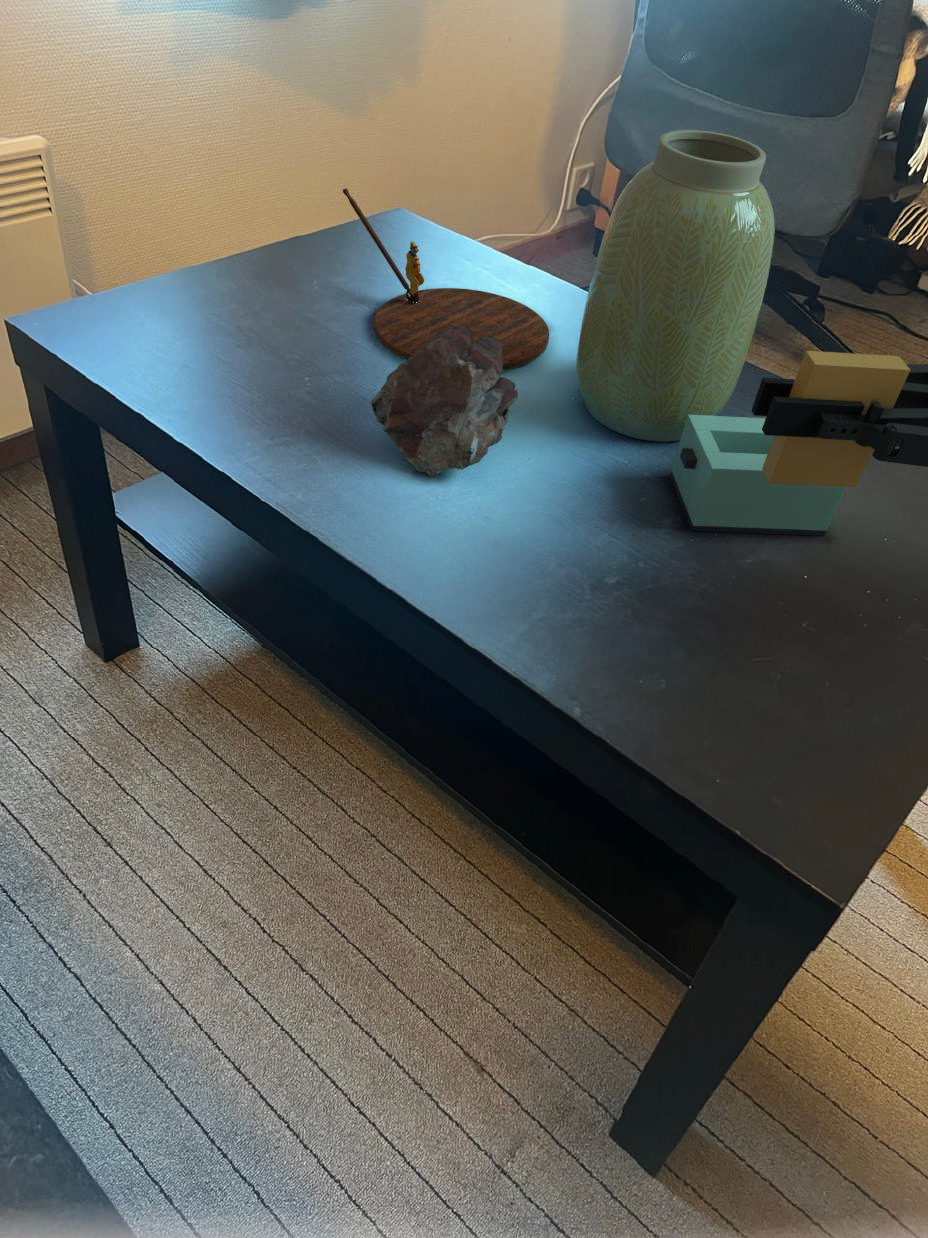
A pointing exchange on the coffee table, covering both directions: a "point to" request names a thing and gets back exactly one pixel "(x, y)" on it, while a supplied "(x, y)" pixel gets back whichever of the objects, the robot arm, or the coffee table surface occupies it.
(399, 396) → the mineral specimen
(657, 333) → the vase
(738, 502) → the toaster
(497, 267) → the coffee table surface
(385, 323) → the incense holder
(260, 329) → the coffee table surface
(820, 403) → the robot arm
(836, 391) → the toast
